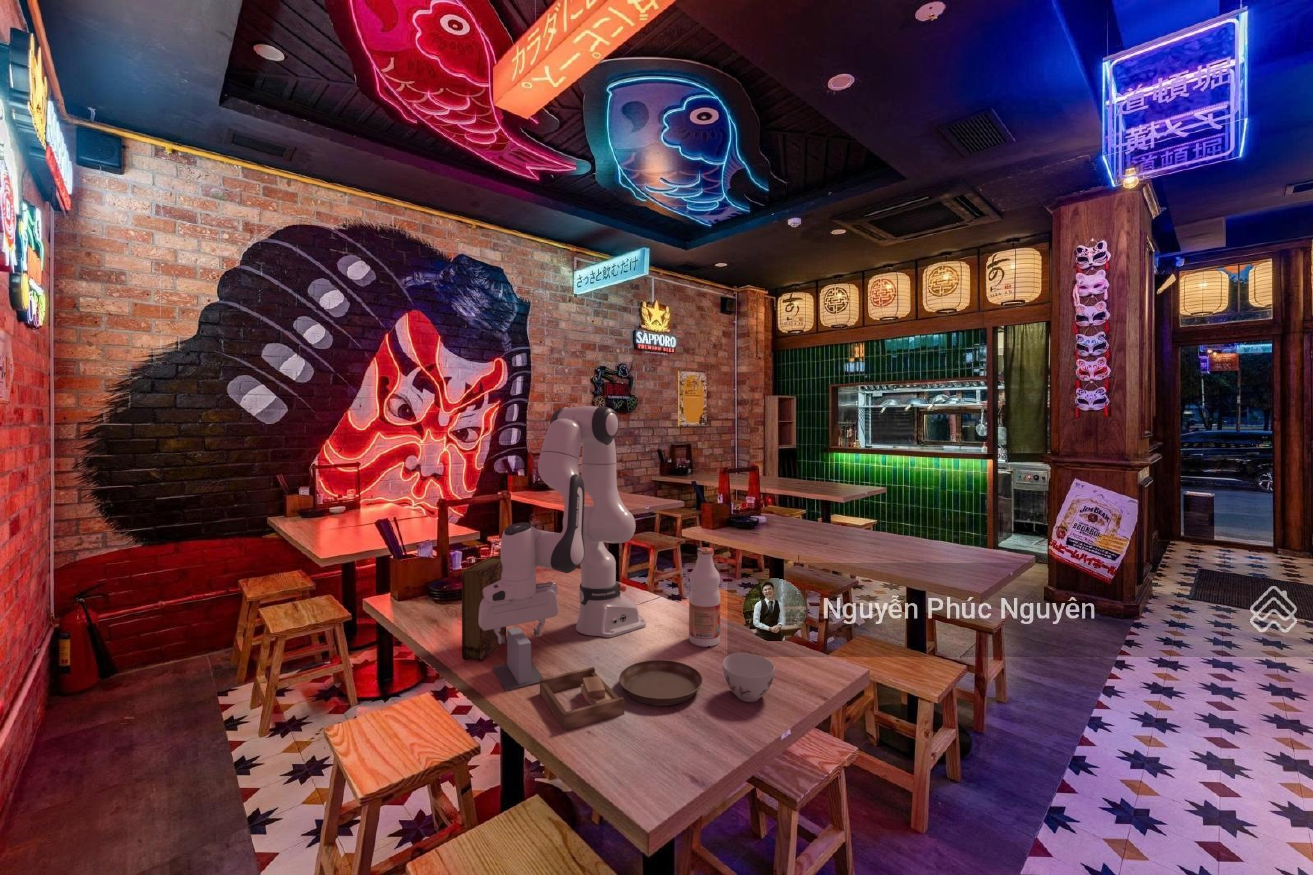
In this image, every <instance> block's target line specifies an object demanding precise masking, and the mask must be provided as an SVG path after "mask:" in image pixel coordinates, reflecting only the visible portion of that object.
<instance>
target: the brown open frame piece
mask: <svg viewBox="0 0 1313 875" xmlns="http://www.w3.org/2000/svg"><path fill="white" fill-rule="evenodd" d="M594 676H599V675H598V674H597V673H596V668H595V667H594V666H592V667H588V668H582V669H579V670H575V671H570V672H565V673H561V674H557V675H553V676H547V677H543V678H544V679H540V683H539V695H540V696H541V697H542V699H543V701H544V702H545V703H546V705H547V706H548V708H549V709H550V710H551V713H552V714H553V715H554V717H555V718H556V720H557V721H558V723H559V724H560V726H561V727H562V728H563V730H564V731H565V732H566V731H570V730H573V729H575V728H577V729H578V728H580V727H583V726H587V725H591V724H594V723H598V722H600V721H601V722H602V721H605V720H609V719H611V718H615V717H617V716H618V717H619V716H621V715H625V698H624V697H623V696H618V695H617V694H616V693H615V692H614V691H613V689H612V688H611V687H610V686H609V685H608V684H607V683H606V682H605V681H604V680H603V679H602V678H601V677H600V679H601V681H602V683H603V686H604V688H605V691H606V692H607V693H608V694H609V695H610V696H611V697H612V698H613V699H612V700H608V701H604V702H601V703H597V704H593V705H591V704H590V705H586V706H582V707H579V708H576V709H571V710H568V711H567V710H566V708H565V707H564V706H563V705H562V703H561V702H560V701H559V699H558V697H557V696H556V695H555V694H554V693H556V692H560V691H564V690H568V689H572V688H576V687H581V684H583V678H587V677H594Z"/></svg>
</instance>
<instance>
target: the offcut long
mask: <svg viewBox="0 0 1313 875" xmlns="http://www.w3.org/2000/svg"><path fill="white" fill-rule="evenodd" d="M580 693H581V695H582V696H583V697H584V698H585V700H587V701H588V703H589V704H590V705H593V704H597V703H601V702H604V701H608V700H612V699H613V698H612V697H611V696H610V695H609V694H608V693H607V692H606V691H605V698H601V699H594V700H588V699H587V696H586V693H585V690H584V687H583V684H581V686H580Z"/></svg>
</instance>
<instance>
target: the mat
mask: <svg viewBox="0 0 1313 875" xmlns="http://www.w3.org/2000/svg"><path fill="white" fill-rule="evenodd" d="M492 669H493V671H494V674H495V675H496V677H497V678H498V680H499V682H500V684H501V685H502V687H503V689H504V691H505V692H508V691H509V692H510V691H514V690H518V689H522V688H526V687H530V686H535V685H540V679H544V678H545V677H543V675H542V674H541V672H540V671H539V669H538V668H537V667H536V665H535V664H534V663H533V661H532V660H531V682H528V683H524V684H520V685H519V683H518V682H517V680H516V679H515V677H514V675H513V674H512V672H511V671H510V669H509V667H508V666H507V663H506V664H500V665H496V666H492Z"/></svg>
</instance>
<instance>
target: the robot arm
mask: <svg viewBox="0 0 1313 875" xmlns="http://www.w3.org/2000/svg"><path fill="white" fill-rule="evenodd" d="M619 427H620V421H619V417H618V414H617V413H616V411H615V410H614V409H612V408H611V407H608V406H603V405H602V406H595V405H581V406H572V407H571V406H570V407H567V406H566V407H565V406H564V407H561V408H558V409H556V410H555V411H554V412H553V414H552V415H551V418H550V420H549V427H548V429H547V431H546V433H545V436H544V439H543V441H542V442H543V443H542V445H541V450H540V453H539V458H538V463H537V470H538V472H537V473H538V475H539V476H540V478H541V480H542V481H543V482H544V484H546V485H547V486H548V487H550V488H552V489H553V490H555V491H557V492H558V493H559V494H560V495H561V497H562V499H563V503H564V506H563V517H562V531H561V532H555V531H547V530H542V529H538V528H535V527H534V526H533V524H531V523H529V522H518V523H513V524H510V525H508V526H506V527H505V529H504V530H503V532H502V535H501V541H500V557H501V563H502V574H501V580H499V581H497V582H495V583H493V584H491V585H489V586H487V587H485V588H484V589H483V596H484V598H483V599H482V601H481V603H480V607H479V619H478V622H479V626H480V628H481V629H482V630H484V631H486V630H491V629H493V630H494V632H495V633H496V635H497V636H498V643H499V644H502V645H504V644H505V643H506V642H505V636H504V635H500V634H499V632H500V631H501V627H506V628H507V627H510V626H515V625H520V624H525V623H530V622H535V621H537V622H538V624H537V626H536V627H534V628H533V631H534V632H533V635H534V637H541V636H542V630H543V627H544V626H545V624H546V620H547V619H550V618H551V619H552V618H555V617H557V616H558V614H559V604H558V598H557V595H558V593H559V592H558V585H557V583H555V582H552V581H547V582H541V583H537V572H536V568H537V567H539V568H543V569H548V570H549V569H550V570H553V571H557V572H560V573H563V574H569V573H572V572H573V571H575V570H576V569H578V567H579V566H580V584H579V594H578V597H579V598H578V599H579V602H580V603H579V610H578V611H579V612H578V617H577V621H576V626H575V630H576V632H578V633H580V634H582V635H587V636H594V637H595V636H596V637H601V638H608V639H609V638H614V637H616V636H619V635H623V634H625V633H628V632H629V633H630V632H632V631H635V630H636V631H637V630H639V629H642V628H646V624H647V623H646V620H645V619H644V618H643V616H641V615H639V609H638V607H637V605H636V603H635V602H633V601H632V599H630V598H628V597H627V596H625V595H624V594H623V593H625V592H626V591H627V590H628V589H627V586H626V585H625V584H622V583H619V582H618V581H616V580H617V579H616V577H617V576H616V575H617V570H616V568H617V566H616V565H617V562H616V559H615V556H614V554H612V553H611V552H609V551H608V549H607V547H606V546H605V543H609V544H622V543H627V542H629V541H630V540H631V539H632V537H633V536H634V535H635V532H636V527H637V526H636V519H635V517H634V515H633V514H632V513H631V512H630V511H629V510H628V508H627V507H626V505H624V503H623V501H622V499H621V497H620V493H619V491H618V489H619V488H618V481H617V480H618V478H617V451H616V450H617V449H616V448H617V447H616V441H615V437H616V436H617V434H618V431H619ZM581 450H582V451H581ZM580 455H581V476H580V472H579V463H580ZM585 493H586V494H587V495H588V496H589V497H590V498H591V500H592V502H593V505H589V504H585V503H586V502H585V498H586V497H585V496H586V494H585Z"/></svg>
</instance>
